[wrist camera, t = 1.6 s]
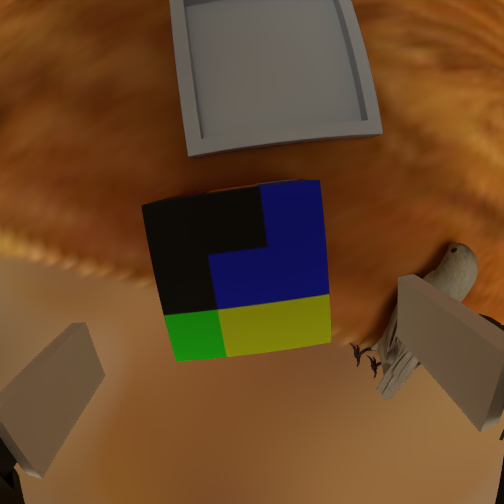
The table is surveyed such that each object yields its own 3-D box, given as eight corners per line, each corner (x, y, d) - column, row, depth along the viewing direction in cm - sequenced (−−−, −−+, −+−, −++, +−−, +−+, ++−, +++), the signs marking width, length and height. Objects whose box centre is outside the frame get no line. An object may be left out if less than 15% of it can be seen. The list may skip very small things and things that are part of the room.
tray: (173, 5, 22) (168, -7, 20) (337, -9, 22) (343, -21, 20) (193, 158, 26) (188, 156, 24) (372, 136, 26) (383, 133, 23)
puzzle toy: (292, 179, 27) (319, 180, 17) (303, 289, 29) (331, 341, 19) (177, 195, 27) (141, 205, 17) (196, 303, 29) (176, 361, 19)
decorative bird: (464, 256, 29) (508, 276, 21) (372, 369, 31) (398, 411, 24) (438, 225, 28) (485, 240, 21) (340, 347, 31) (363, 390, 23)
